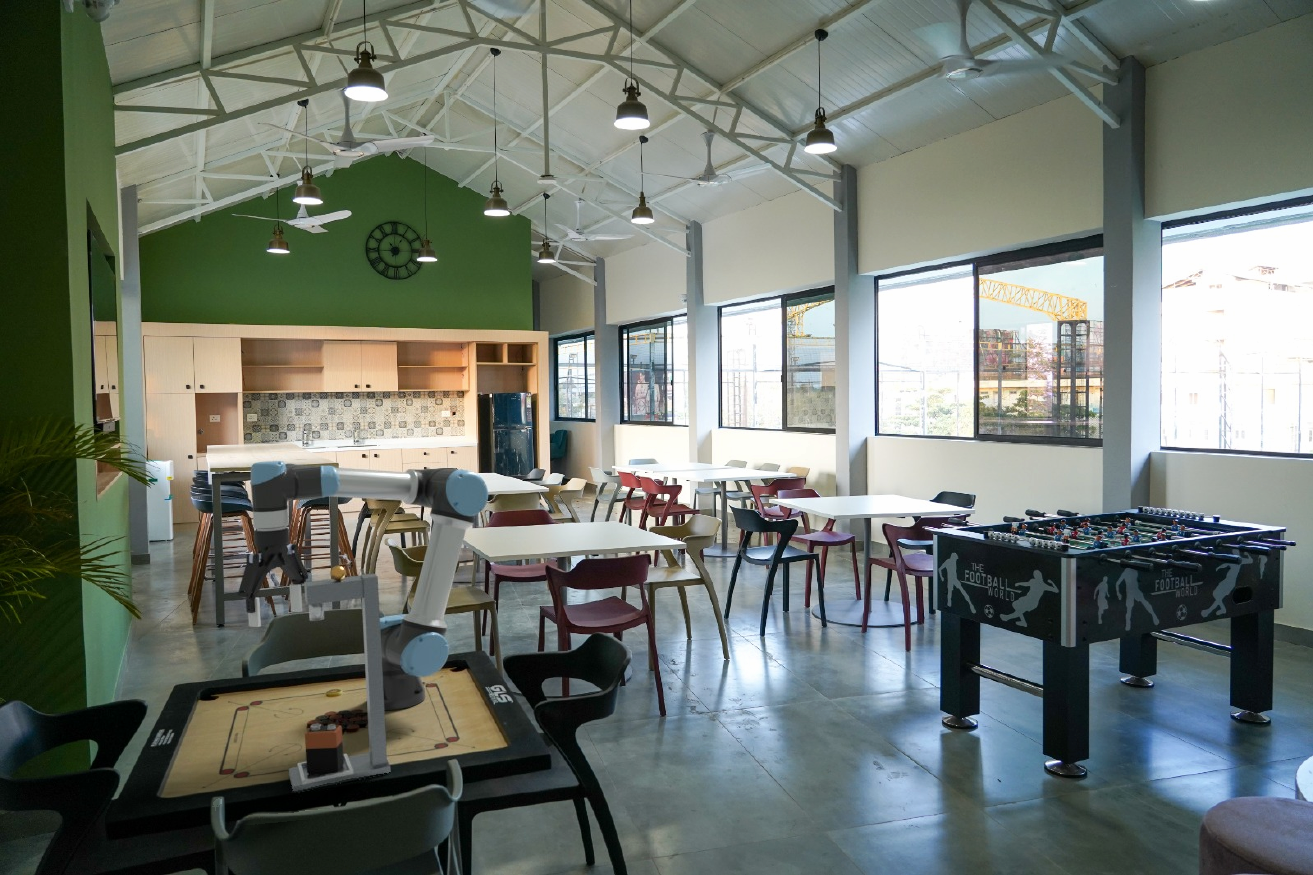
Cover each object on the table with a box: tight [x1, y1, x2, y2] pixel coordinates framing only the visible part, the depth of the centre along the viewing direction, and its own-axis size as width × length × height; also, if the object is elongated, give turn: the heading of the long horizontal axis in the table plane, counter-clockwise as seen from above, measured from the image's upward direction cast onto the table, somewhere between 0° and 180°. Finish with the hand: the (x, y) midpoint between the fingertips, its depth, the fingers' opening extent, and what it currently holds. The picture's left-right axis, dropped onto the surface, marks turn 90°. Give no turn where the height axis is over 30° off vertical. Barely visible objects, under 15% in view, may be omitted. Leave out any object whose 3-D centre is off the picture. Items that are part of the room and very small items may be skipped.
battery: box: [304, 723, 344, 774], centre depth 199 cm, size 4×7×10 cm, turn 91°
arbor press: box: [288, 565, 392, 792], centre depth 199 cm, size 10×20×46 cm, turn 116°
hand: (276, 618), depth 212 cm, fingers open, 13 cm apart
